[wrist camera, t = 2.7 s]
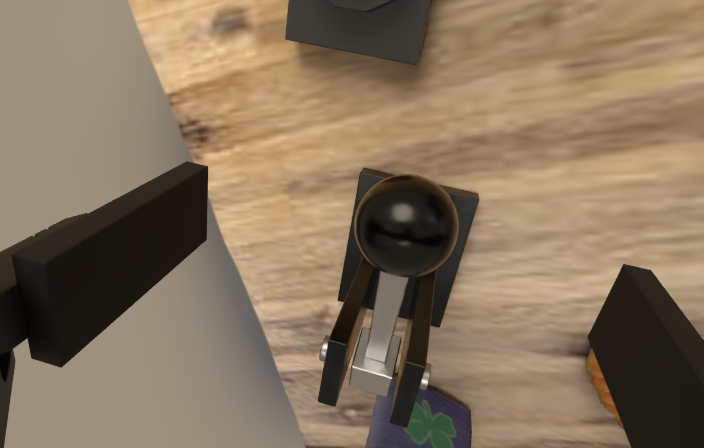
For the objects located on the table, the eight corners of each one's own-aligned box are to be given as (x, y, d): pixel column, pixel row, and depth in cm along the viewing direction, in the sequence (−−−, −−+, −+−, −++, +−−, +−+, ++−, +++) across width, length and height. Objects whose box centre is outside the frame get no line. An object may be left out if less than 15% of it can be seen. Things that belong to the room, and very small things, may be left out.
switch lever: (372, 143, 16) (344, 218, 14) (475, 165, 16) (463, 247, 13) (350, 335, 28) (333, 393, 26) (408, 351, 27) (396, 411, 25)
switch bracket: (363, 167, 36) (298, 266, 22) (478, 193, 35) (489, 315, 21) (340, 293, 41) (276, 438, 27) (440, 319, 40) (427, 485, 26)
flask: (376, 385, 44) (353, 486, 35) (388, 364, 43) (367, 463, 34) (463, 425, 44) (464, 538, 35) (478, 406, 43) (483, 517, 33)
